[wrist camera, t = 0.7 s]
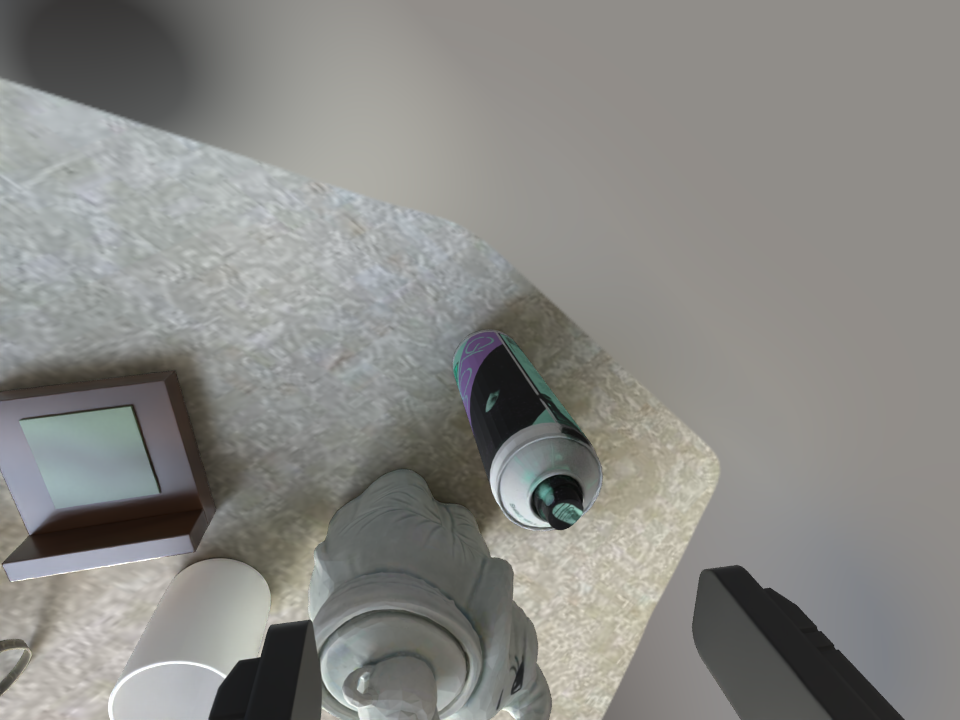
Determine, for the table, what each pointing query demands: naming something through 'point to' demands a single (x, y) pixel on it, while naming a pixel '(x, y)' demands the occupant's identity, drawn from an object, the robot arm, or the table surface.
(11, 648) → the binoculars
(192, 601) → the cup
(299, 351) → the table surface
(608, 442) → the table surface
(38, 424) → the brown wooden square frame
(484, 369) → the spray can
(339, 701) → the teapot
